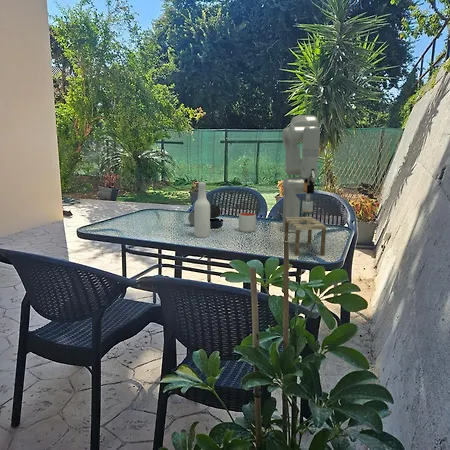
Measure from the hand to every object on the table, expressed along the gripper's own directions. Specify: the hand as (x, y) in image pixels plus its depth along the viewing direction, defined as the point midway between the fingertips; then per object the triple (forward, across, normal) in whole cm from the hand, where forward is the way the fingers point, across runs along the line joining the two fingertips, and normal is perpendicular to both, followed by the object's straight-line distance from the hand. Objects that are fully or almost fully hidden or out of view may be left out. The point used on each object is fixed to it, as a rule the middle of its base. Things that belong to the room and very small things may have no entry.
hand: (308, 192), depth 189 cm
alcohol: (+29, -34, -49) cm, 66 cm away
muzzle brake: (+29, -68, -46) cm, 88 cm away
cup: (+29, -44, -22) cm, 58 cm away
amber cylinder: (+9, 0, 0) cm, 9 cm away
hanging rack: (+29, -4, 0) cm, 29 cm away
